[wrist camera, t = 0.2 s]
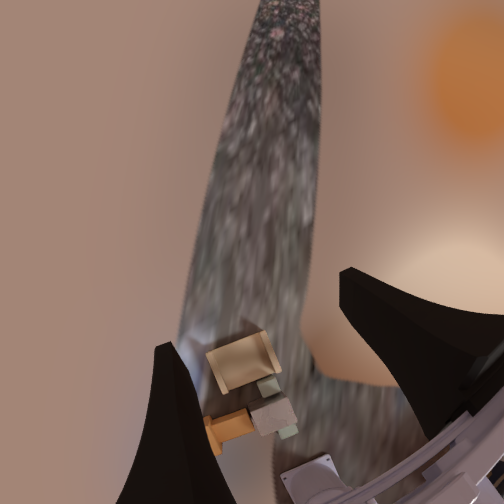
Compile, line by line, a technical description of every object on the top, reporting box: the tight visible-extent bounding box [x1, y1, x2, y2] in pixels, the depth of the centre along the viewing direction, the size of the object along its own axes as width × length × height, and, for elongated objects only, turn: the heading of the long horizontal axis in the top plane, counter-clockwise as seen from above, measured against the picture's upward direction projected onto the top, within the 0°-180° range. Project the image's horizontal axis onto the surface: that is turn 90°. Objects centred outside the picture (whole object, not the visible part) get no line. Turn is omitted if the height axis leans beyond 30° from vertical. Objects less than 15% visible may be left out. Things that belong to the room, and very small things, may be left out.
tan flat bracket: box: [206, 330, 282, 395], centre depth 40 cm, size 6×8×2 cm
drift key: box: [203, 408, 255, 456], centre depth 36 cm, size 4×6×5 cm
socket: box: [256, 375, 299, 439], centre depth 39 cm, size 9×2×3 cm, turn 22°
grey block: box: [248, 391, 298, 437], centre depth 37 cm, size 4×5×5 cm
